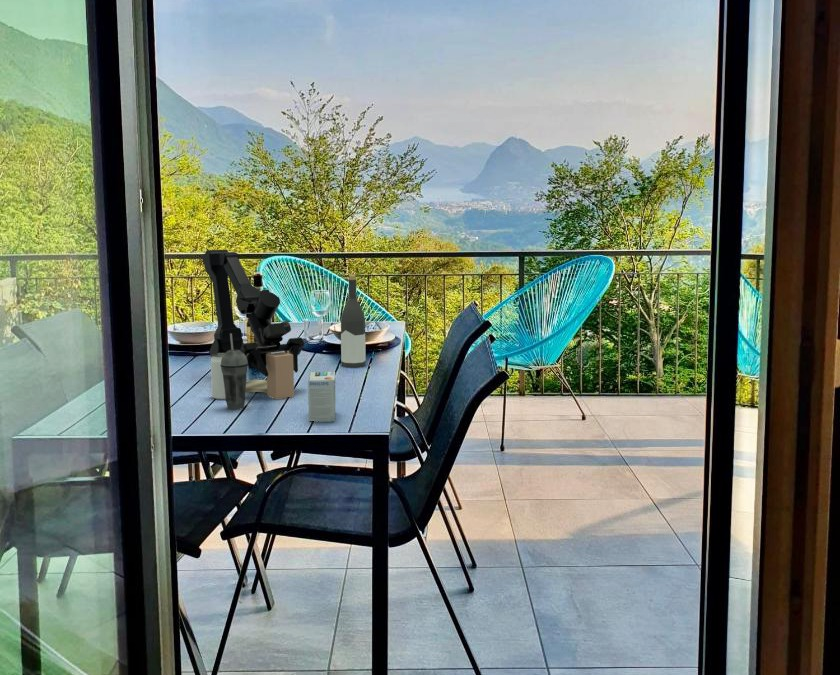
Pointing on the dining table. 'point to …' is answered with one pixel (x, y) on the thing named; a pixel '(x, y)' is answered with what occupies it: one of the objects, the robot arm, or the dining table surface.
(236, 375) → the beverage cup
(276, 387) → the tall block
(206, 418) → the dining table surface
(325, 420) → the light bulb box
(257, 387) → the brass board
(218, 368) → the can
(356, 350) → the wine bottle
